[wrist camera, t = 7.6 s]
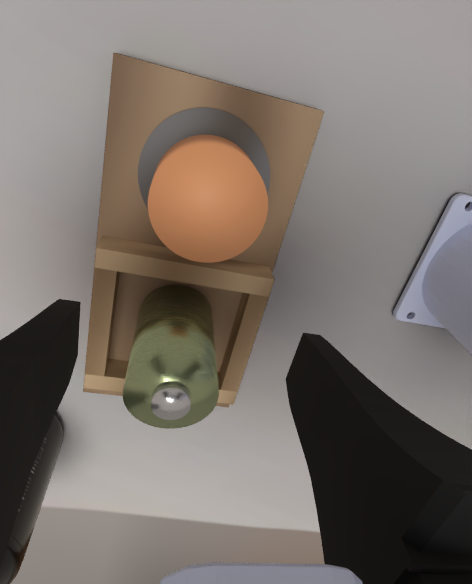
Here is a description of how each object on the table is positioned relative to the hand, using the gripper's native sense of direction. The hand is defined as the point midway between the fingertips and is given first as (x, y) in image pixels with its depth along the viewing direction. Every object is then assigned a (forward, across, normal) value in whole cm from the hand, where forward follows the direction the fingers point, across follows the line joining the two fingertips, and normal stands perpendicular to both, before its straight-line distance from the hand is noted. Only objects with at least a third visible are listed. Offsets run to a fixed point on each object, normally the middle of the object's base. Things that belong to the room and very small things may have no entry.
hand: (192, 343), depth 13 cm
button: (+6, 0, -3) cm, 7 cm away
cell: (+8, 0, +4) cm, 9 cm away
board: (+9, 0, +2) cm, 10 cm away
